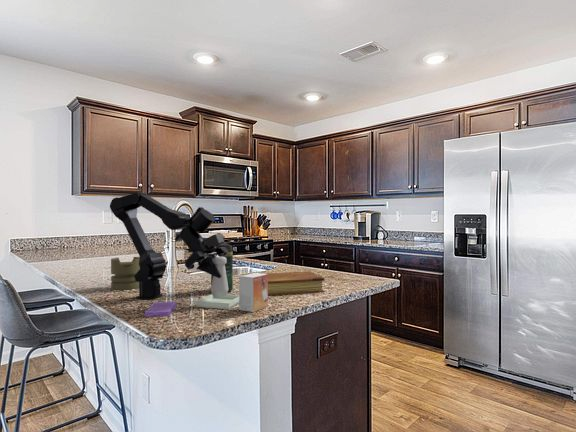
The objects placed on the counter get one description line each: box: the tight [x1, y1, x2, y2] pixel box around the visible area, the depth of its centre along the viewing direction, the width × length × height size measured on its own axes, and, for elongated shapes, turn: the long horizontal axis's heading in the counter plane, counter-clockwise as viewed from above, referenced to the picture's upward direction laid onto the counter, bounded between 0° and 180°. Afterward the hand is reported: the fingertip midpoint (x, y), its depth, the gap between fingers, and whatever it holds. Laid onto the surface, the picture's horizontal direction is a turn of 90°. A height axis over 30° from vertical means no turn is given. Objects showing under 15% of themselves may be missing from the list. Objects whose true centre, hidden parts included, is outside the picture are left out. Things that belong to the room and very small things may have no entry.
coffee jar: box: [210, 242, 234, 292], centre depth 140 cm, size 10×8×19 cm
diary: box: [263, 270, 325, 296], centre depth 143 cm, size 23×19×6 cm
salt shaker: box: [210, 257, 229, 298], centre depth 119 cm, size 6×6×13 cm
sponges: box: [144, 300, 178, 317], centre depth 111 cm, size 7×13×2 cm, turn 8°
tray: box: [195, 293, 239, 310], centre depth 119 cm, size 12×12×2 cm
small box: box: [238, 272, 269, 313], centre depth 113 cm, size 8×6×10 cm
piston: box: [110, 256, 140, 291], centre depth 146 cm, size 11×12×11 cm
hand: (223, 276), depth 119 cm, fingers closed on salt shaker, 3 cm apart
